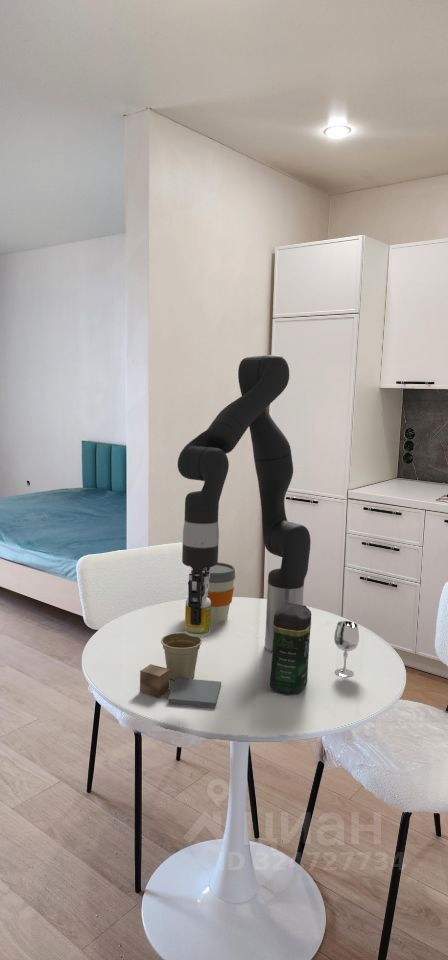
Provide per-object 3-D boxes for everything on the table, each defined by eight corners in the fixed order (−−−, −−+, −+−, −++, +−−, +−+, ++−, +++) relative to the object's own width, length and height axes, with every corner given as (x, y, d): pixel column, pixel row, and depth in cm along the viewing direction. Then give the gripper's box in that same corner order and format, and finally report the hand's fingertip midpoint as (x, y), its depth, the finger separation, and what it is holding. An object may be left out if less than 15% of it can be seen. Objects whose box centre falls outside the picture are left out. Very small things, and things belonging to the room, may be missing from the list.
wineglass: (358, 670, 153) (361, 622, 151) (354, 679, 147) (358, 630, 146) (334, 666, 155) (337, 618, 153) (330, 675, 149) (333, 626, 148)
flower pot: (169, 688, 140) (170, 650, 139) (153, 671, 148) (154, 635, 147) (207, 680, 144) (209, 644, 143) (190, 664, 152) (191, 630, 151)
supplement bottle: (209, 638, 132) (210, 593, 131) (183, 637, 133) (184, 592, 131) (210, 628, 138) (212, 585, 137) (185, 627, 138) (187, 584, 137)
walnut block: (169, 690, 139) (169, 669, 138) (159, 698, 135) (159, 676, 134) (150, 685, 141) (150, 664, 140) (139, 692, 137) (140, 670, 137)
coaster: (221, 686, 141) (221, 681, 141) (215, 708, 131) (215, 702, 131) (177, 682, 142) (177, 677, 142) (168, 703, 133) (168, 698, 132)
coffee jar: (300, 699, 137) (305, 616, 134) (265, 692, 139) (269, 611, 137) (311, 681, 146) (315, 603, 143) (277, 675, 148) (281, 598, 146)
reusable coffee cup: (240, 614, 189) (242, 565, 187) (222, 628, 177) (225, 575, 175) (202, 607, 194) (204, 559, 192) (183, 620, 182) (184, 569, 180)
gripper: (213, 551, 125) (210, 633, 127) (222, 535, 139) (219, 609, 141) (176, 548, 126) (174, 630, 128) (188, 533, 140) (186, 607, 142)
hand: (198, 619), depth 135 cm, fingers closed on supplement bottle, 5 cm apart
